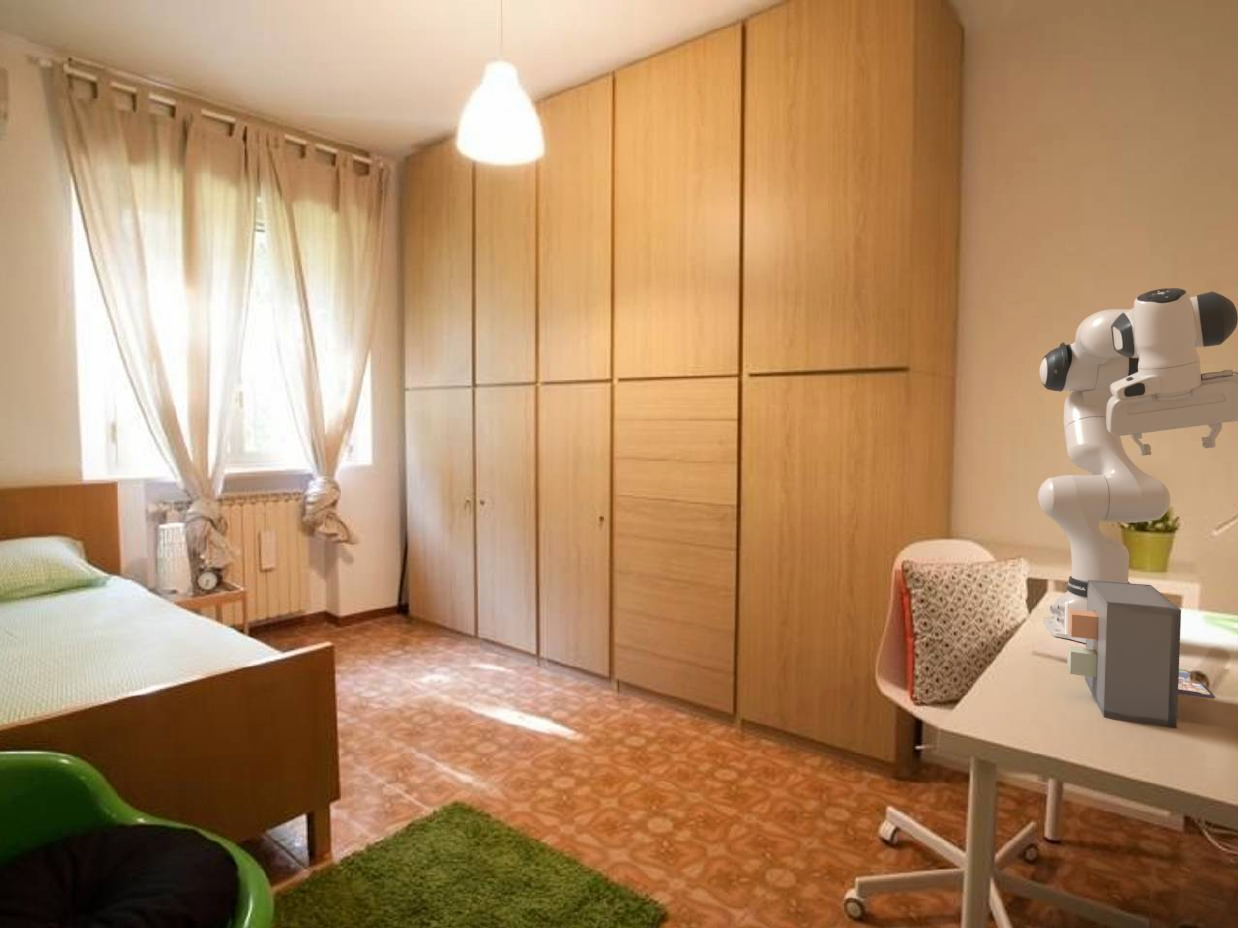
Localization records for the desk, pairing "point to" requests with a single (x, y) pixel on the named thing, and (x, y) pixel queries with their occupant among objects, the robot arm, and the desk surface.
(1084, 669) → the key lower
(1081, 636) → the key upper
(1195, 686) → the smartphone
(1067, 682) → the desk surface
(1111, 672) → the box
